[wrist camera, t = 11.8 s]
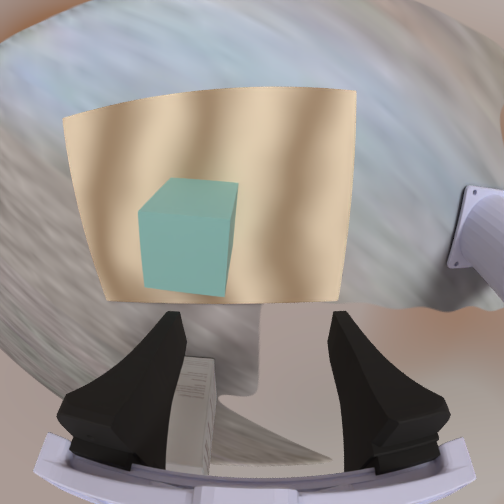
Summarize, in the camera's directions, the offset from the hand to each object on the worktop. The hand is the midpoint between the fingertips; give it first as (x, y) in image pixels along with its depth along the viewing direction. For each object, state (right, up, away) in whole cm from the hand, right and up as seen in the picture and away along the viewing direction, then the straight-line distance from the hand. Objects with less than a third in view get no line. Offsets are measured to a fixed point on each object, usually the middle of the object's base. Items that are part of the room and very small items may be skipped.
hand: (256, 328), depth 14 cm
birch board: (-3, +7, +8) cm, 11 cm away
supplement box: (-8, -10, +18) cm, 22 cm away
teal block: (-4, +6, +6) cm, 10 cm away
